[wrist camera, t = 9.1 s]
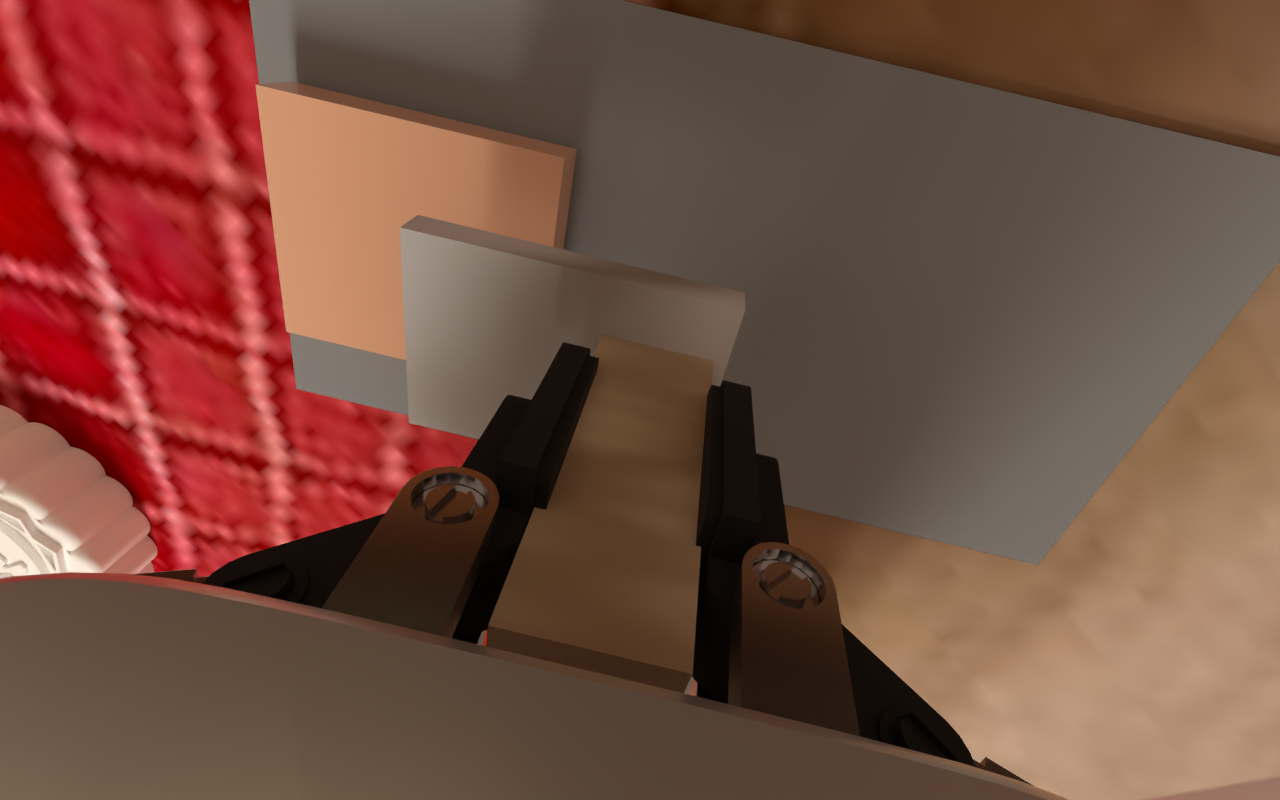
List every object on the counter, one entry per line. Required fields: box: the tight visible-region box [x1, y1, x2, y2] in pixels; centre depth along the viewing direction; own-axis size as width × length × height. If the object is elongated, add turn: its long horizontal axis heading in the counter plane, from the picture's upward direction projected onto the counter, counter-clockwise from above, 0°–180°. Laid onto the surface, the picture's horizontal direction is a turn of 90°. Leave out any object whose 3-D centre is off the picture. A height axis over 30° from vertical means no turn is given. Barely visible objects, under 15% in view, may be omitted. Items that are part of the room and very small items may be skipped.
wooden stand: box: [400, 215, 745, 693], centre depth 11 cm, size 7×5×8 cm
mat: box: [249, 0, 1280, 565], centre depth 18 cm, size 28×14×1 cm, turn 79°
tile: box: [255, 81, 577, 360], centre depth 18 cm, size 2×7×8 cm
